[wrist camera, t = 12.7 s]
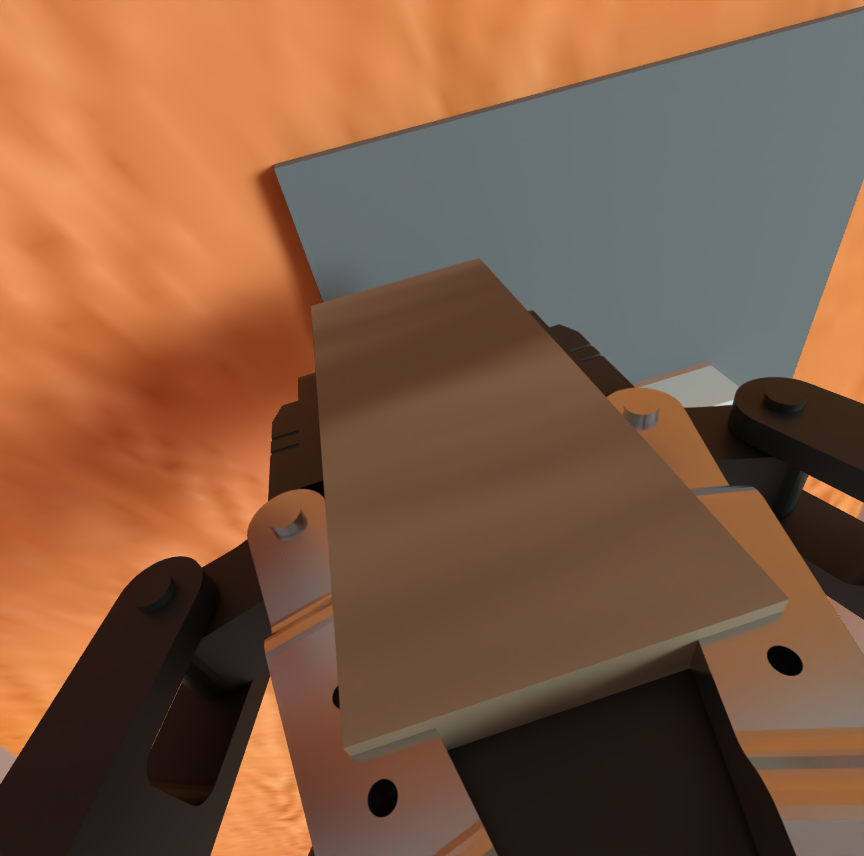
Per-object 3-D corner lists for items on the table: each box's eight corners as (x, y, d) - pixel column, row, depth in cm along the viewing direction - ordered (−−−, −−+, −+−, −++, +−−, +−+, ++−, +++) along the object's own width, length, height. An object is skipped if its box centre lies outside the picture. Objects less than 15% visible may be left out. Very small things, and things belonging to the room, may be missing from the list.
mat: (274, 164, 12) (273, 169, 12) (908, -6, 13) (930, -8, 13) (434, 601, 27) (436, 611, 26) (736, 504, 27) (744, 512, 27)
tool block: (310, 305, 11) (343, 749, 4) (479, 257, 11) (788, 598, 4) (361, 436, 13) (434, 844, 7) (497, 395, 14) (709, 749, 7)
